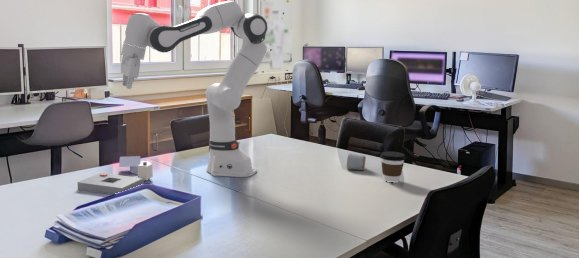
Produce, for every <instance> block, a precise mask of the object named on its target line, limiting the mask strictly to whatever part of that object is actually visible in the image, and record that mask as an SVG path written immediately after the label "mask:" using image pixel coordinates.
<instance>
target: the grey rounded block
mask: <svg viewBox="0 0 579 258" xmlns="http://www.w3.org/2000/svg"><path fill="white" fill-rule="evenodd" d="M366 158H367V157H366V155H363V154H358V153H352V152H348V154H347V159H346V170H351V169H357V170H356V171H364V170H365V168H366V167H365V166H366ZM363 169H364V170H363Z"/></svg>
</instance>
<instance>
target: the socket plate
mask: <svg viewBox="0 0 579 258" xmlns="http://www.w3.org/2000/svg"><path fill="white" fill-rule="evenodd" d="M141 184H144V182H143V178H138V176H137V177H135V176H129V175H121V174H111V173H103V172H100V173H97V174H95V175H92V176H90V177H87V178H85V179H83V180H80V181H77V191H85V192H93V193H100V194H108V195H113V194H115V193H118V192H122V191H125V190H128V189H130V188H133V187H136V186H138V185H141Z"/></svg>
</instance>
